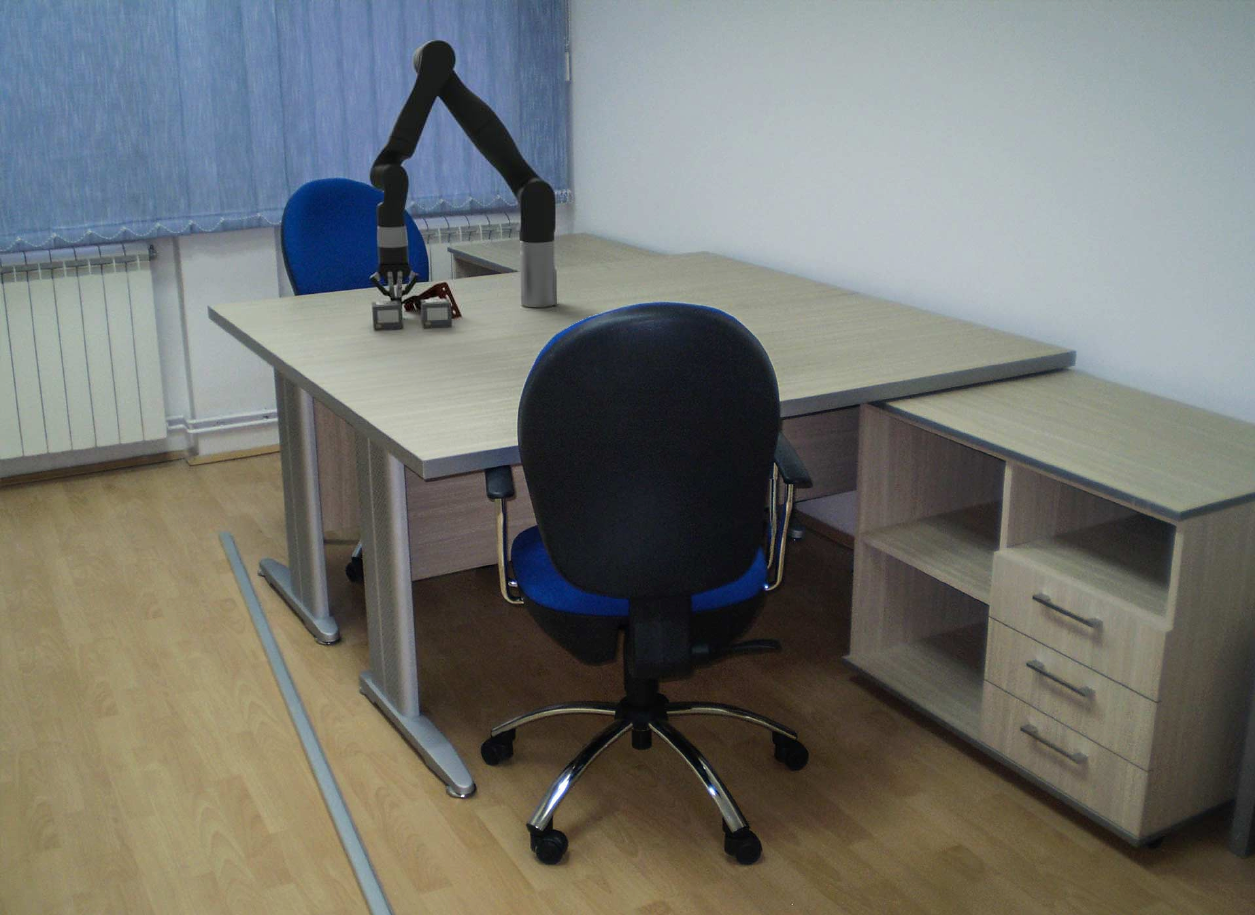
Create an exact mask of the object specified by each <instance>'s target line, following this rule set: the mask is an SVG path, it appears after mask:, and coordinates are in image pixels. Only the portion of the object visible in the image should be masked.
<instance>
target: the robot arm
mask: <svg viewBox="0 0 1255 915" xmlns="http://www.w3.org/2000/svg"><path fill="white" fill-rule="evenodd" d="M456 58H457V57H456V53H455V51H454V49H453V47H452V45H451V44H450V43H448V42H447V41H444V40H442V39H433V40H430V41H427V42H426V43H423V44H422V45H420V46H418V47H417V49H416V50H415V51H414V54H413V56H412V65H413V69H414V70H415V73H416V74H417V75H416V79H415V82H414V85H413V87H412V89H411V92H410V93H409V95H408V97H407V99H406V101H405V103H404V104H403V106H402V108H401V110H400V111H399V112H398V114H397V117H396V119H395V121H394V124H393V125H392V129H391V130H390V134H389V136H388V139H387V142H386V144H385V145H384V146H383V148H382V149H381V150H380V152H379V153H378V155H377V157H376V158H375V159H374V162H373V163H372V165H371V167H370V170H369V171H370V172H369V181H370V184H371V186H372V187H373V188H374V189H376V190H378V191H381V192H383V198H382V200H383V201H382V202H379V203H378V204H377V206H376V223H377V232H376V243H377V255H378V256H377V257H378V266H377V268H376V272H375V273H374V274H372V275H370V276H369V280H370V281H371V283H372V284H373V285H374V286H375V288H377V290H379V292H380V293H381V294H382V295H383V296H385V297H386V296H387V297H389V301H400V302H402V301H403V297H405V296H407V295H408V294H410V293H411V291H412V289H413V288H414V286H415V285H416V283H417V282H418V281H419V279H420V275H419V274H418V273H417V272H414V271H413V270H412V268H411V266H410V262H409V257H410V256H409V239H408V232H407V226H406V205H407V201H408V200H407V199H408V193H409V188H410V183H409V181H410V179H409V175H408V172H407V170H406V169H405V168H404V166H402V164H403V163H404V162H405V161H406V160H409V159H411V158H412V157H413V155H414V153H415V151H416V150H417V149H416V148H417V147H418V144H419V141H420V138H421V136H422V133H423V131H424V128H425V126H426V123H427V120H428V118H429V116H430V113H431V111H432V109H433V106H434V104H435V102H436V100H437V98H439V100H441V101H442V103H443V105H444V106H445V107H446V109H447V110H448V111H449V112H450V114H451V116H452V117H453V118H454V120H455V121H456V122H457V124H458V125H459V127H460V128H461V129H462V130H463V132H464V134H465V135H466V136H467V137H468V139H469V140H470V141H471V143H472V144H473V145H474V146H475V148H476V150H478V152H479V153H480V154H481V156H483V157H484V159H485V160H486V161H488V163H489V164H490V165H492V167H493V168H494V169H495V170H496V171H497V172H498V173H499V175H501V177H502V178H503V180H504V181H505V183H506V184H507V186H508V188H509V189H510V190H511V192H512V194H513V195H514V198H515V199H516V201H517V203H518V205H519V207H520V208H519V210H520V226H519V231H518V232H519V234H518V236H519V271H520V272H519V273H520V300H521V301H520V303H521V306H523V307H527V308H549V307H553V305H555V306H558V282H557V281H558V280H557V278H558V277H557V276H558V275H557V273H558V272H557V269H556V266H555V264H556V263H555V257H556V256H555V232H556V226H557V225H556V224H557V222H556V215H557V214H556V211H557V209H556V207H557V206H556V194H555V190H554V189H553V187H552V186H551V184H549V183H548V182H547V181H545V180H544V179H543V178H541V176H539V174H538V173H536V171H534V169H533V167H531V165H530V164H529V163H528V162H527V161H526V160H525V158H524V157H523V156H522V154H521V152H520V150H519V148H518V147H517V145H516V142H515V140H514V139H513V137H512V135H511V133H510V131H508V129H507V128H506V126H505V124H504V123H503V122H502V120H501V119H500V117H499V116H498V114H497V113H496V112H495V111H494V110H493V109H492V108H491V106H490V105H488V104H487V103H486V102H485V101H484V100H483V99H481V98H480V97H479V96H477V94H475V93H474V92H473V91H472V90H471V89H469V88H468V87H467V85H465V84H464V82H463V81H462V80H461V78H460V77H459V75H458V74H457V73H456V71H455V70H454V68H455V66H456V61H457V59H456ZM380 277H381V279H382V280H383V281H384V282H385V283H386V284H387V285H388V289H386V287H384V285H382V283H381V282H380V280H381V279H380ZM408 278H409V280H408V282H407V284H406V285H405V287H404V288H403V283H405V282H406V280H407V279H408ZM395 284H396V285H395ZM394 285H395V286H396V290H395V286H394ZM395 291H396V292H395ZM548 306H549V307H548Z"/></svg>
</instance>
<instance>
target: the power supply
mask: <svg viewBox="0 0 1255 915" xmlns="http://www.w3.org/2000/svg"><path fill="white" fill-rule="evenodd" d="M371 312H372V315H371V316H372V326H373V331H374V332H378V331H379V332H381V331H383V332H384V331H398V330H399V331H401V330H402V331H403V330H404V321H403V320H404V317H403V305H402V304H401V302H400V301H390V300H389V301H386V300H385V301H371Z"/></svg>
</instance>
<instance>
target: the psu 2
mask: <svg viewBox="0 0 1255 915" xmlns="http://www.w3.org/2000/svg"><path fill="white" fill-rule="evenodd" d="M420 301H421V310H420V315H421V317H420V318H421V325H422V327H423V329H436V328H437V329H439V328H442V329H443V328H453V319H452V313H451V306H452V304H451V301H450V299H449V298H447V299H439V298H430V299H427V300H420Z"/></svg>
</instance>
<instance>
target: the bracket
mask: <svg viewBox="0 0 1255 915" xmlns="http://www.w3.org/2000/svg"><path fill="white" fill-rule="evenodd" d="M437 297H438V299H449V300H450V302H451V313H452V320H454V319H458V318H462V317H463V316H462V313H461V310H460V308H459V306H458V304H457V302H456V299H455V297H454V295H453V293H452V291H451V288H450V286H449V284H448V282H446V281H443V282H439V283H435V284H434V285H432V286H431V287H429V288H427V289H426V290H425V291H422V292H421V293H420V294H418V295H417V294H414V295H411V296H408V297H407V298H405V299H402V302H401V304H402V306H403V309H404V310H405V312H409V311H414V310H416V311H421V301H420V300H427V299H435V298H437ZM454 312H455V313H454Z"/></svg>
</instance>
